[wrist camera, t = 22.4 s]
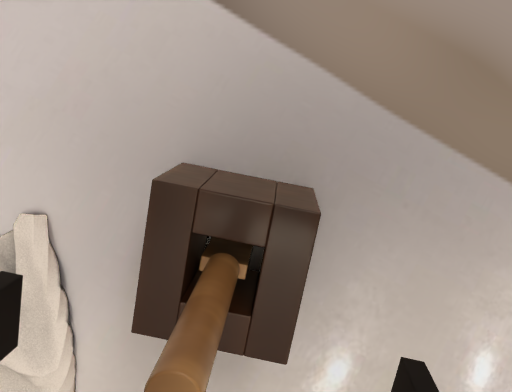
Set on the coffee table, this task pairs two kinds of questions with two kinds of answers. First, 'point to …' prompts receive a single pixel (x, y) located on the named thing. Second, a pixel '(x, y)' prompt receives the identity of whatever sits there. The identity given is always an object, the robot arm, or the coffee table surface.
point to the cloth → (37, 313)
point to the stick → (201, 321)
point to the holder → (234, 229)
